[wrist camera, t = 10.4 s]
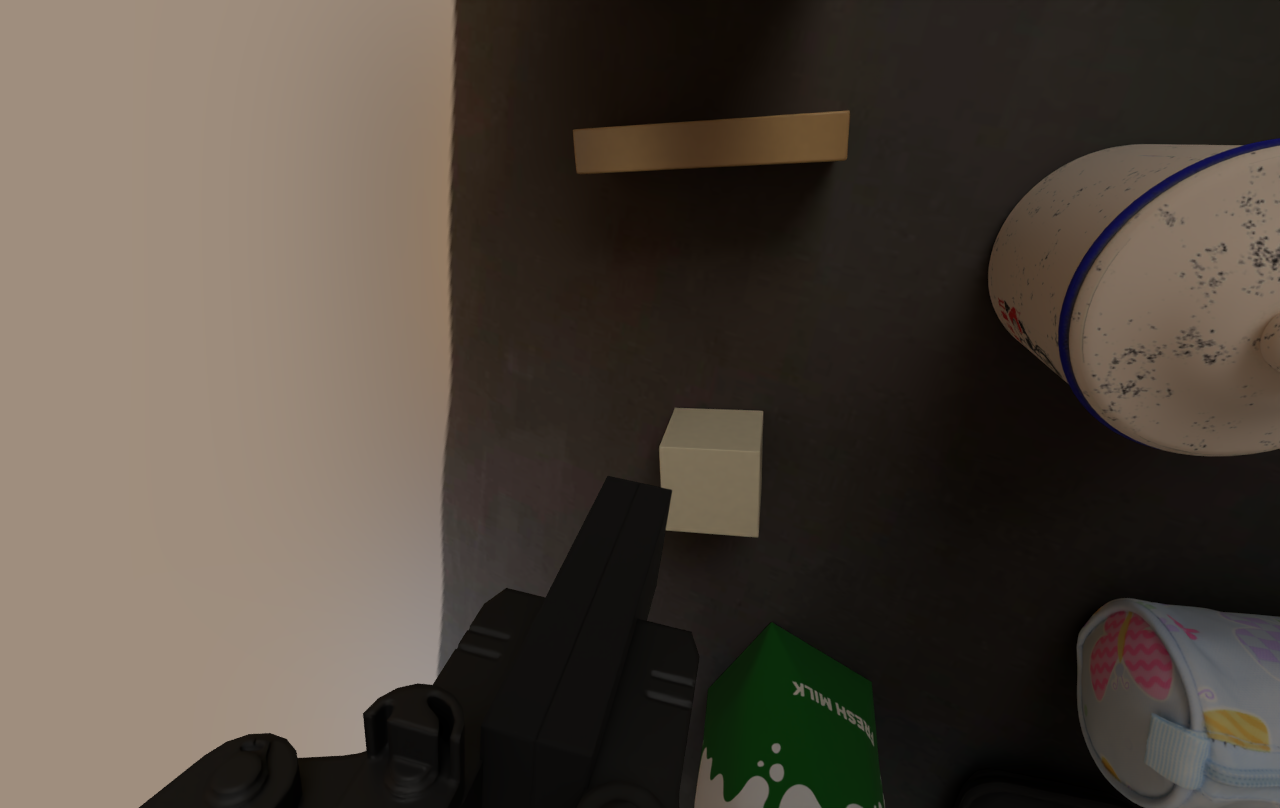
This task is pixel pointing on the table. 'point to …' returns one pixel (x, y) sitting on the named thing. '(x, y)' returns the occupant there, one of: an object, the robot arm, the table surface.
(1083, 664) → the pencil case
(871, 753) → the milk carton
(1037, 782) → the carrying case
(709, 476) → the block
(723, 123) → the brown wooden bar
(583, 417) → the table surface
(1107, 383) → the teacup with lid
